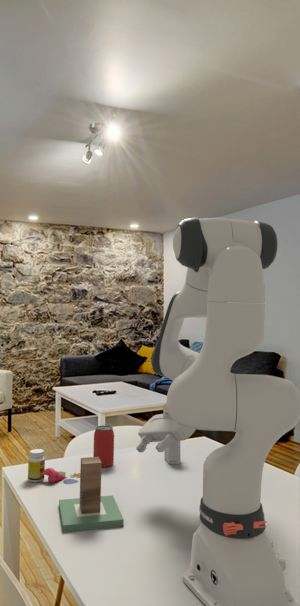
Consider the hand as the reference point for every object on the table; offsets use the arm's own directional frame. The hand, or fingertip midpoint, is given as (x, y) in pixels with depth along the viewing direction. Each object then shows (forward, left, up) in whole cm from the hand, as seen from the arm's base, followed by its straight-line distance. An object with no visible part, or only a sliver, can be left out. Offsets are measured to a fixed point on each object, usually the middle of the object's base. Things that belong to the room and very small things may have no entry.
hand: (148, 450), depth 115 cm
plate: (+2, +14, -16) cm, 21 cm away
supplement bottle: (+28, +26, -16) cm, 42 cm away
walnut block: (+2, +14, -14) cm, 20 cm away
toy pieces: (+27, +18, -16) cm, 37 cm away
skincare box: (+36, -18, -16) cm, 43 cm away
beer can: (+37, +5, -16) cm, 40 cm away
